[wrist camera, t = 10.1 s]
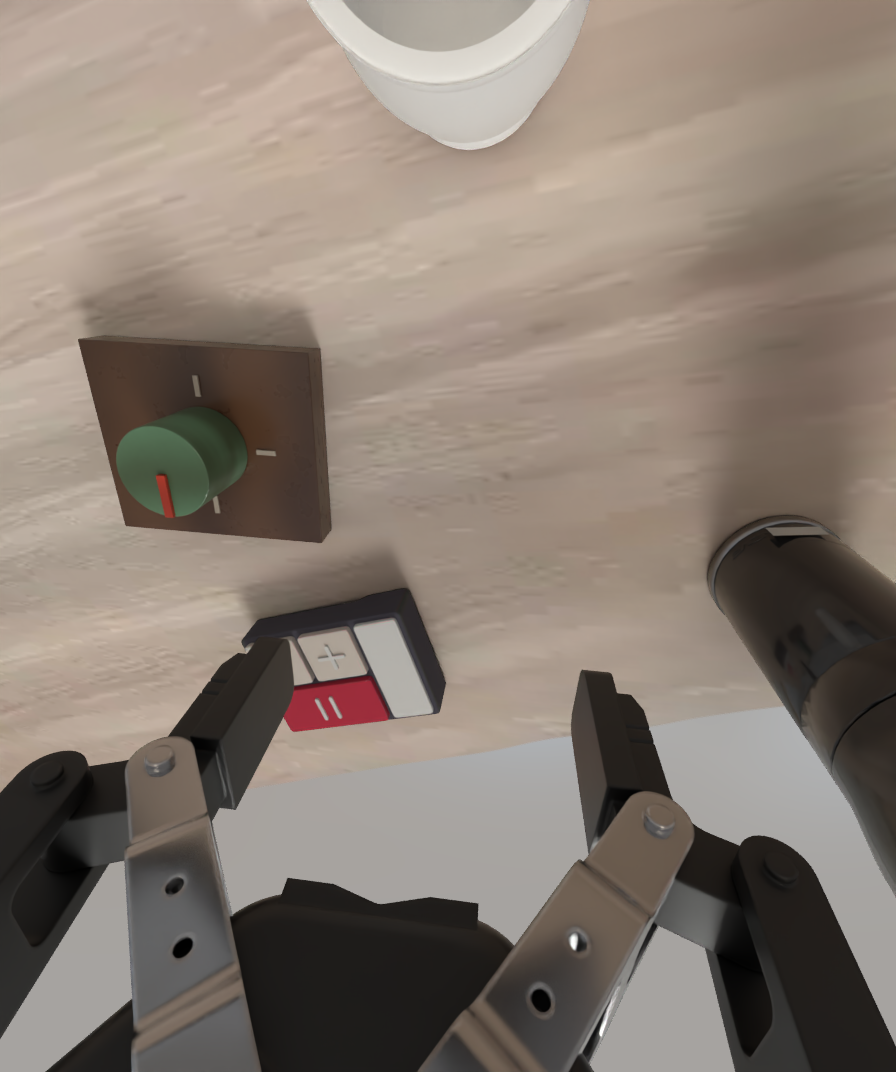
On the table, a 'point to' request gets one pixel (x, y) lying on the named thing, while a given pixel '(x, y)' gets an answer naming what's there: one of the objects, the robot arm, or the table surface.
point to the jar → (456, 59)
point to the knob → (181, 460)
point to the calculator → (357, 662)
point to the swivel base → (248, 402)
